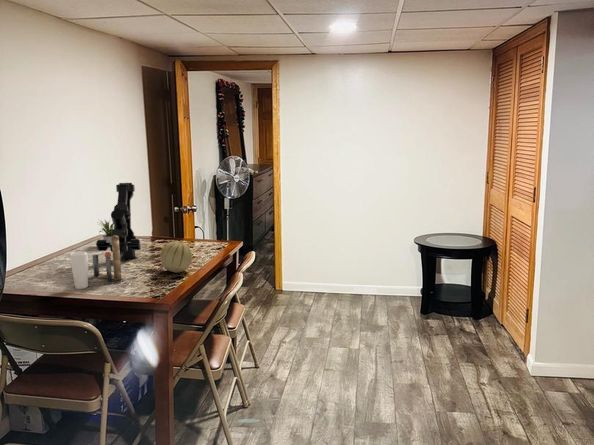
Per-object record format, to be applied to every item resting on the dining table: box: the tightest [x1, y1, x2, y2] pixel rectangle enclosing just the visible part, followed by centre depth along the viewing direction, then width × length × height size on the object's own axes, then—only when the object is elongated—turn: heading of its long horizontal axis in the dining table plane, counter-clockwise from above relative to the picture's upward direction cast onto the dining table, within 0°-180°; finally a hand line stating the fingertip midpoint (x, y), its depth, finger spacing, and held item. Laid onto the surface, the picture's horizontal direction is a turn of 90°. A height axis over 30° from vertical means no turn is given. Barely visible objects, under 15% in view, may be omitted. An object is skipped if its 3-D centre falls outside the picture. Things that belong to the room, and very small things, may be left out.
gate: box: [99, 235, 122, 281], centre depth 233 cm, size 12×3×20 cm, turn 68°
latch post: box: [104, 251, 116, 285], centre depth 228 cm, size 4×4×14 cm
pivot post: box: [91, 254, 101, 279], centre depth 237 cm, size 4×4×10 cm
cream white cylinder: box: [69, 251, 89, 290], centre depth 221 cm, size 7×7×15 cm
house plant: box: [97, 219, 114, 243], centre depth 292 cm, size 14×14×16 cm
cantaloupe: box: [159, 239, 193, 273], centre depth 244 cm, size 15×15×15 cm
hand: (117, 261), depth 234 cm, fingers closed, pressing on gate
